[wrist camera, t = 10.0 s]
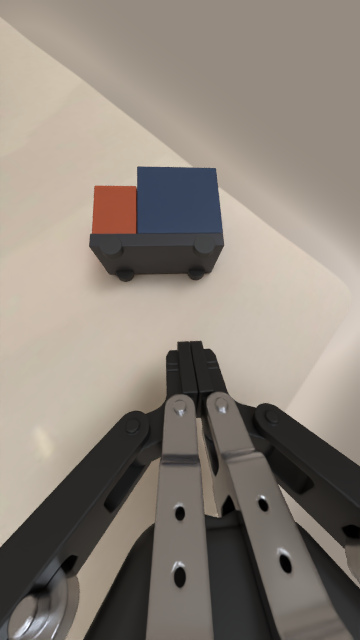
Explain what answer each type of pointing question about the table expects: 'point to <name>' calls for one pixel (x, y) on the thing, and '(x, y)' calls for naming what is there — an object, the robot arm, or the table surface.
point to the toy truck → (159, 223)
